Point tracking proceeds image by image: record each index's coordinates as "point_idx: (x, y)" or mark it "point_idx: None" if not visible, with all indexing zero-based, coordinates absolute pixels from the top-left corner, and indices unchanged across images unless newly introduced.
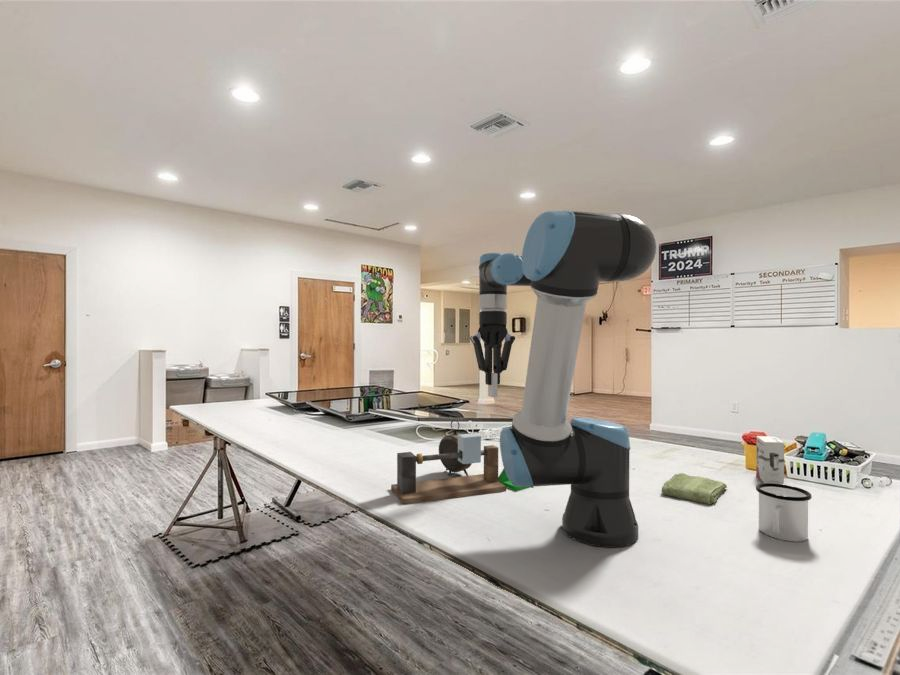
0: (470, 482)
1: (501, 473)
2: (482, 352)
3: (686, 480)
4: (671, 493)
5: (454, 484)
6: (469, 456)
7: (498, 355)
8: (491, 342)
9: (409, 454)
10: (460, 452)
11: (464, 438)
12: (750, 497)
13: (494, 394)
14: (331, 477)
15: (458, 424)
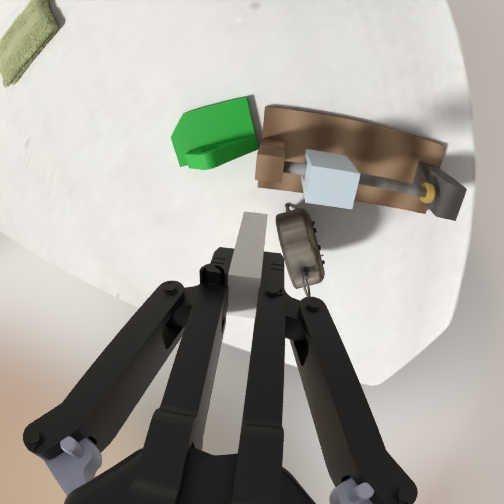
0: None
1: (245, 152)
2: (337, 397)
3: (18, 46)
4: (53, 20)
5: None
6: (335, 157)
7: (195, 363)
8: (258, 467)
9: (448, 200)
10: None
11: (357, 172)
12: (3, 20)
13: (256, 218)
14: (444, 289)
15: (303, 277)
